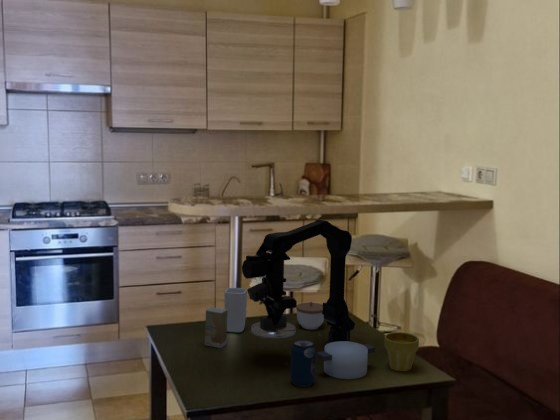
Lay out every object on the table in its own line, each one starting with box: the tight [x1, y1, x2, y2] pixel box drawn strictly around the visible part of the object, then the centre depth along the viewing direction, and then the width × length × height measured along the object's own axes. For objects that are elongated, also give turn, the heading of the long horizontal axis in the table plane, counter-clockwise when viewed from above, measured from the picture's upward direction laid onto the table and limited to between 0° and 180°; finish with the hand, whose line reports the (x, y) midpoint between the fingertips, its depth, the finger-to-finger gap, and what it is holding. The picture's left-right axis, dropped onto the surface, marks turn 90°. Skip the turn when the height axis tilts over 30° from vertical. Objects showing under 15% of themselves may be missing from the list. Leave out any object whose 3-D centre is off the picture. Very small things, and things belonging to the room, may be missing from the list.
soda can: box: [290, 338, 316, 387], centre depth 186 cm, size 7×7×12 cm
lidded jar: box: [296, 301, 325, 331], centre depth 238 cm, size 11×11×9 cm
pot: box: [315, 341, 376, 380], centre depth 196 cm, size 19×13×7 cm
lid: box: [250, 313, 297, 340], centre depth 203 cm, size 14×14×5 cm
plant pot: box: [383, 331, 420, 372], centre depth 200 cm, size 10×10×10 cm
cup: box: [223, 287, 248, 334], centre depth 231 cm, size 7×7×15 cm
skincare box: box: [204, 307, 228, 349], centre depth 216 cm, size 6×4×12 cm
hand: (273, 323), depth 203 cm, fingers closed on lid, 2 cm apart
